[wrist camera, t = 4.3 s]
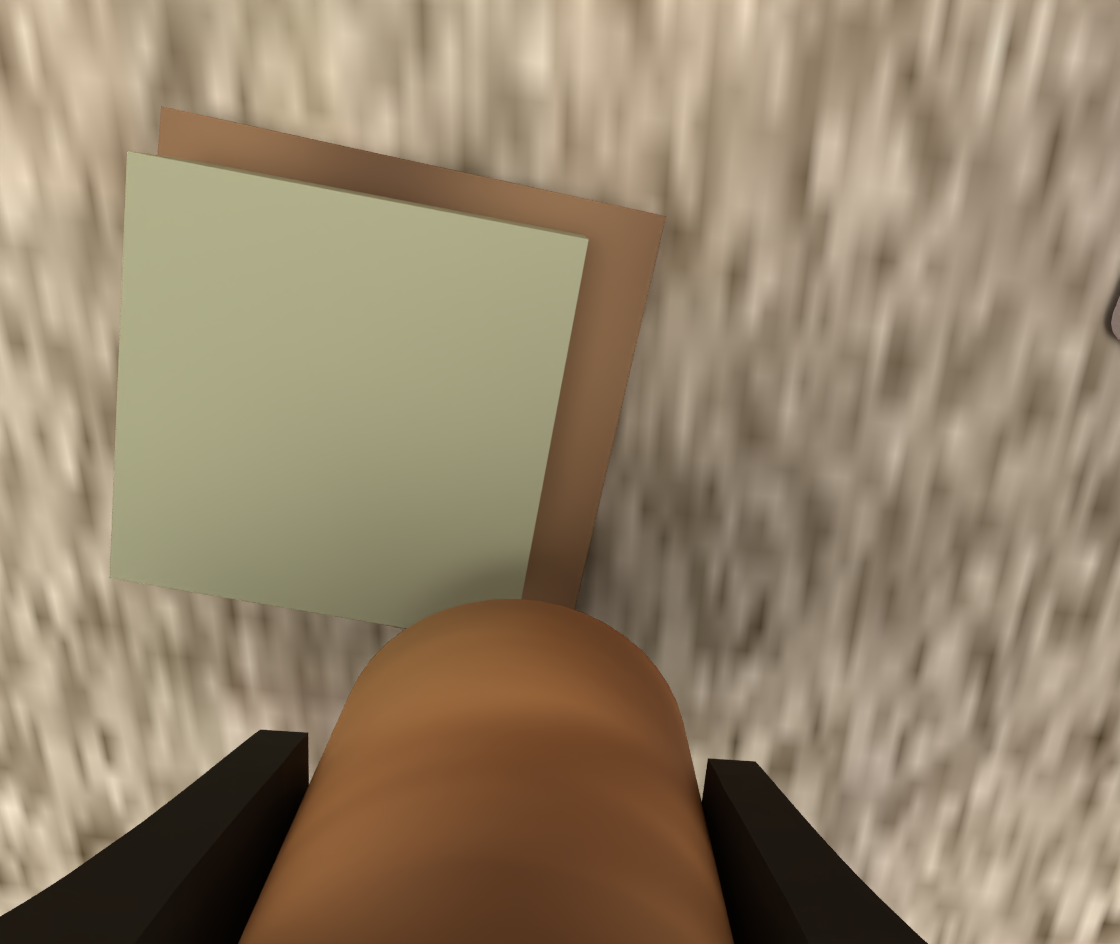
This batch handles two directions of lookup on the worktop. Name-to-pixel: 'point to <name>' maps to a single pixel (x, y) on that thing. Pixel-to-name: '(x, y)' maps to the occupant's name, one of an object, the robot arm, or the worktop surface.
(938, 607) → the worktop surface
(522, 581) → the sage top block
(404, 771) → the orange cylinder
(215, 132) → the walnut base block
